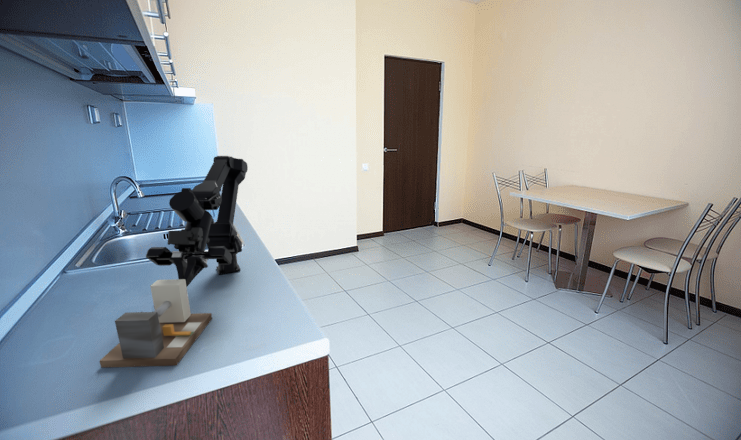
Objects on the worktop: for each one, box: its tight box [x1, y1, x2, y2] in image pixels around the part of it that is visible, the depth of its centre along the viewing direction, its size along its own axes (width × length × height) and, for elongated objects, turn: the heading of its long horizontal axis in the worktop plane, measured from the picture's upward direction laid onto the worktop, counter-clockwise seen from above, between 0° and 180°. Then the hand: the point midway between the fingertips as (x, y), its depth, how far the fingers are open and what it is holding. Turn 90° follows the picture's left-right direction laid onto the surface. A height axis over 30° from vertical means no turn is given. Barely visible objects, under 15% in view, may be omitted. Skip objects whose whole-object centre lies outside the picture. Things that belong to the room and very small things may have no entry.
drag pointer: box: [162, 324, 191, 336], centre depth 71 cm, size 1×5×2 cm, turn 92°
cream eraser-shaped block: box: [150, 278, 192, 323], centre depth 74 cm, size 7×6×9 cm
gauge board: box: [99, 311, 213, 369], centre depth 71 cm, size 16×14×10 cm
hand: (182, 289), depth 80 cm, fingers closed
